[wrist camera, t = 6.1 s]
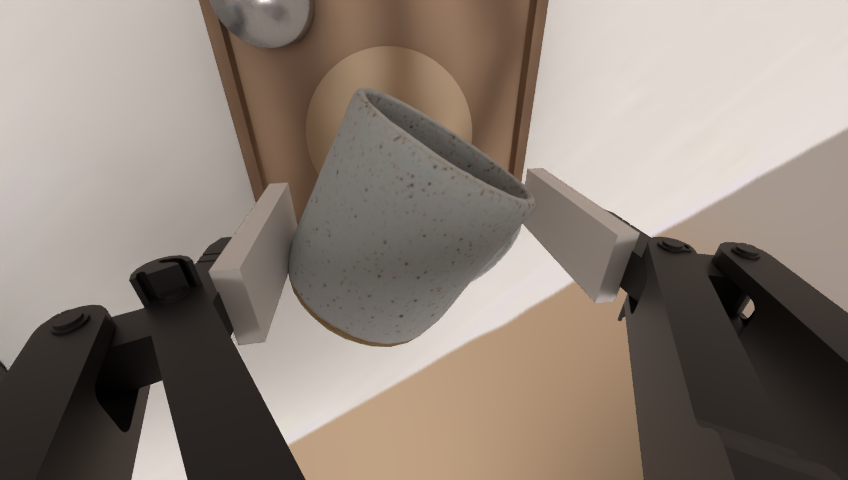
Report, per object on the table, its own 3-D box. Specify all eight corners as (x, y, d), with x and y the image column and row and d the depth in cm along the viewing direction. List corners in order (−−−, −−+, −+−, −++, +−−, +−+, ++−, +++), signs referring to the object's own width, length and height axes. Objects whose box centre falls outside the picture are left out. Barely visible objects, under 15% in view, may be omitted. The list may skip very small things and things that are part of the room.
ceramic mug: (292, 230, 17) (252, 346, 10) (357, 74, 14) (358, 100, 7) (460, 290, 21) (507, 400, 14) (539, 179, 18) (644, 255, 11)
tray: (272, 228, 29) (266, 240, 28) (191, -72, 19) (175, -84, 18) (507, 211, 32) (515, 220, 31) (543, -58, 22) (558, -67, 21)
